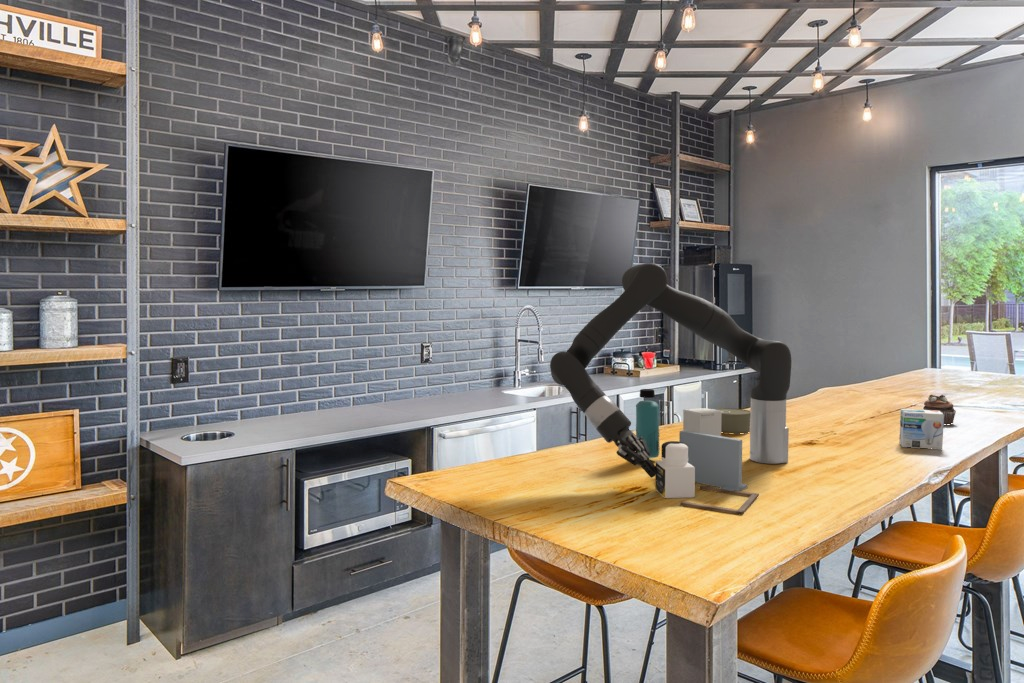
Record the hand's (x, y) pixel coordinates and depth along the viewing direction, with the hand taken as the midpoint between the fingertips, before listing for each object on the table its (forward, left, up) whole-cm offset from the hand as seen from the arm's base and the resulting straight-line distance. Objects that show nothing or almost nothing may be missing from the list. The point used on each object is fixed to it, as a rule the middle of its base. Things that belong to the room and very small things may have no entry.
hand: (655, 474), depth 160 cm
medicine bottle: (-4, +2, -4) cm, 6 cm away
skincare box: (-16, -22, -4) cm, 27 cm away
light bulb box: (-87, -47, -4) cm, 99 cm away
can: (-38, -71, -4) cm, 80 cm away
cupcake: (-114, -84, -4) cm, 141 cm away
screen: (-14, -6, -4) cm, 16 cm away
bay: (-12, +7, -4) cm, 15 cm away
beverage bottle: (-3, -30, -4) cm, 30 cm away
